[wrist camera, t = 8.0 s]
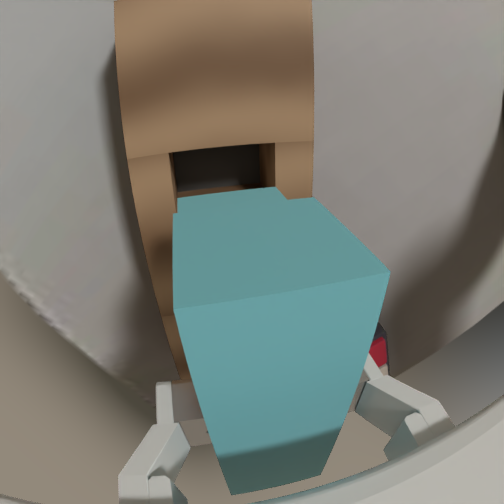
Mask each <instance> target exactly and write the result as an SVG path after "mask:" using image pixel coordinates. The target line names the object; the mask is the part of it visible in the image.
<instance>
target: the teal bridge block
mask: <svg viewBox="0 0 504 504" xmlns="http://www.w3.org/2000/svg"><path fill="white" fill-rule="evenodd" d="M177 212H178V213H174V214H173V310H174V314H175V318H176V322H177V326H178V330H179V334H180V338H181V342H182V345H183V349H184V353H185V357H186V360H187V364H188V367H189V371H190V374H191V378H192V381H193V385H194V388H195V391H196V395H197V398H198V401H199V404H200V408H201V411H202V414H203V417H204V420H205V423H206V426H207V429H208V432H209V435H210V438H211V441H212V444H213V447H214V450H215V453H216V456H217V458H218V461H219V464H220V467H221V469H222V472H223V475H224V477H225V480H226V482H227V485H228V488H229V490H230V493H231V495H236V494H241V493H247V492H253V491H258V490H263V489H267V488H272V487H277V486H281V485H285V484H289V483H293V482H297V481H301V480H304V479H308V478H311V477H315V476H318V475H321V472H322V470H323V468H324V466H325V464H326V462H327V459H328V457H329V455H330V453H331V451H332V449H333V446H334V444H335V441H336V439H337V437H338V435H339V432H340V430H341V427H342V425H343V422H344V420H345V417H346V415H347V412H348V410H349V407H350V405H351V402H352V399H353V397H354V394H355V391H356V388H357V386H358V383H359V380H360V377H361V374H362V371H363V368H364V365H365V362H366V359H367V356H368V353H369V350H370V346H371V343H372V340H373V337H374V333H375V330H376V326H377V323H378V319H379V316H380V312H381V308H382V305H383V301H384V297H385V293H386V289H387V285H388V281H389V276H390V271H389V270H388V269H387V268H386V266H385V265H384V264H383V263H382V262H381V261H380V260H379V259H378V258H377V257H376V256H375V255H374V254H373V253H372V252H371V251H370V250H369V249H368V248H367V247H366V246H365V245H364V244H363V243H362V242H361V241H360V240H359V239H358V238H356V237H355V236H354V235H353V234H352V233H351V232H350V231H349V230H348V229H347V228H346V227H345V226H344V225H343V224H342V223H341V222H340V221H339V220H338V219H337V218H336V217H335V216H333V215H332V214H331V213H330V212H329V211H328V210H327V209H326V208H325V207H324V206H323V205H322V204H321V203H319V202H318V201H317V200H316V199H315V198H314V197H311V198H301V199H290V200H287V199H286V198H285V197H284V196H283V194H282V193H281V192H280V191H279V190H278V189H277V188H276V187H267V188H257V189H248V190H238V191H230V192H221V193H213V194H205V195H197V196H189V197H182V198H177Z"/></svg>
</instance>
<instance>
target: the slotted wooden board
mask: <svg viewBox="0 0 504 504" xmlns="http://www.w3.org/2000/svg"><path fill="white" fill-rule="evenodd" d="M114 22H115V48H116V64H117V78H118V89H119V100H120V109H121V118H122V126H123V134H124V141H125V148H126V155H127V162H128V168H129V174H130V180H131V186H132V192H133V197H134V203H135V208H136V213H137V218H138V223H139V228H140V233H141V237H142V242H143V246H144V251H145V255H146V260H147V264H148V268H149V272H150V276H151V280H152V284H153V288H154V292H155V296H156V300H157V303H158V307H159V311H160V314H161V318H162V321H163V325H164V328H165V332H166V335H167V338H168V342H169V345H170V348H171V352H172V355H173V358H174V361H175V364H176V367H177V370H178V373H179V376H180V379H181V380H184V379H192V378H191V374H190V371H189V367H188V364H187V360H186V357H185V353H184V349H183V345H182V342H181V338H180V334H179V330H178V326H177V322H176V318H175V314H174V310H173V214H174V213H178V212H177V198H182V197H189V196H197V195H205V194H213V193H221V192H230V191H238V190H248V189H257V188H267V187H276V188H277V189H278V190H279V191H280V192H281V193H282V194H283V196H284V197H285V198H286V199H287V200H290V199H301V198H311V197H312V182H313V148H314V53H313V22H312V0H117V1H114Z"/></svg>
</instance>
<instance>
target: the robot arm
mask: <svg viewBox="0 0 504 504" xmlns="http://www.w3.org/2000/svg"><path fill="white" fill-rule="evenodd" d="M351 411H355V412H356V413H358V414H359V415H361V416H362V417H363V418H365V419H366V420H367V421H369V422H370V423H372V424H373V425H375V426H376V427H377V428H379V429H380V430H382V431H383V432H385V433H386V434H388V435H389V436H391V437H392V438H391V439H390V441H389V442H388V444H387V445H386V446H385V448H384V452H385V454H386V457H387V458H388V461H387V462H385V463H383V464H380V465H378V466H376V467H373V468H371V469H368V470H366V471H363V472H360V473H358V474H355V475H353V476H350V477H347V478H344V479H341V480H338V481H335V482H332V483H329V484H326V485H323V486H319V487H316V488H313V489H309V490H306V491H302V492H299V493H294V494H291V495H287V496H282V497H278V498H274V499H269V500H264V501H259V502H255V503H249V504H504V395H502V396H501V397H499V398H498V399H497V400H495V401H494V402H493V403H491V404H490V405H488V406H487V407H485V408H484V409H482V410H481V411H479V412H478V413H476V414H475V415H473V416H472V417H470V418H469V419H467V420H465V421H464V422H462V423H460V424H459V425H457V426H455V425H454V424H453V422H452V420H451V419H450V417H449V416H448V414H447V413H446V411H445V410H444V408H443V407H442V405H441V404H440V402H439V401H438V400H436V399H434V398H432V397H430V396H428V395H426V394H424V393H422V392H420V391H418V390H416V389H414V388H412V387H410V386H408V385H406V384H404V383H402V382H400V381H398V380H396V379H394V378H393V377H391V376H389V375H384V376H383V374H382V372H381V371H380V369H379V368H378V366H377V365H376V363H375V362H374V360H373V358H372V357H371V355H370V354H369V353H368V356H367V359H366V362H365V365H364V368H363V371H362V374H361V377H360V380H359V383H358V386H357V388H356V391H355V394H354V397H353V399H352V402H351V405H350V407H349V410H348V412H351ZM348 412H347V413H348ZM156 419H157V424H154V425H152V426H151V428H150V429H149V431H148V432H147V434H146V435H145V437H144V438H143V440H142V441H141V443H140V444H139V446H138V447H137V449H136V450H135V452H134V453H133V455H132V457H131V458H130V459H129V461H128V462H127V464H126V465H125V467H124V468H123V470H122V471H121V473H120V474H119V476H118V479H119V504H188V501H187V498H186V497H185V496H184V495H183V494H182V492H181V491H180V490H179V489H178V488H177V487H176V486H175V484H174V482H175V480H176V478H177V476H178V474H179V472H180V469H181V468H182V465H183V463H184V461H185V459H186V457H187V455H188V453H189V451H190V449H191V448H190V447H192V446H199V445H206V444H212V441H211V438H210V435H209V432H208V429H207V426H206V423H205V420H204V417H203V414H202V411H201V408H200V404H199V401H198V398H197V395H196V391H195V388H194V385H193V381H192V379H184V380H174V381H164V382H157V383H156ZM0 504H41V503H36V502H31V501H27V500H23V499H18V498H14V497H10V496H6V495H3V494H0Z"/></svg>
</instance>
